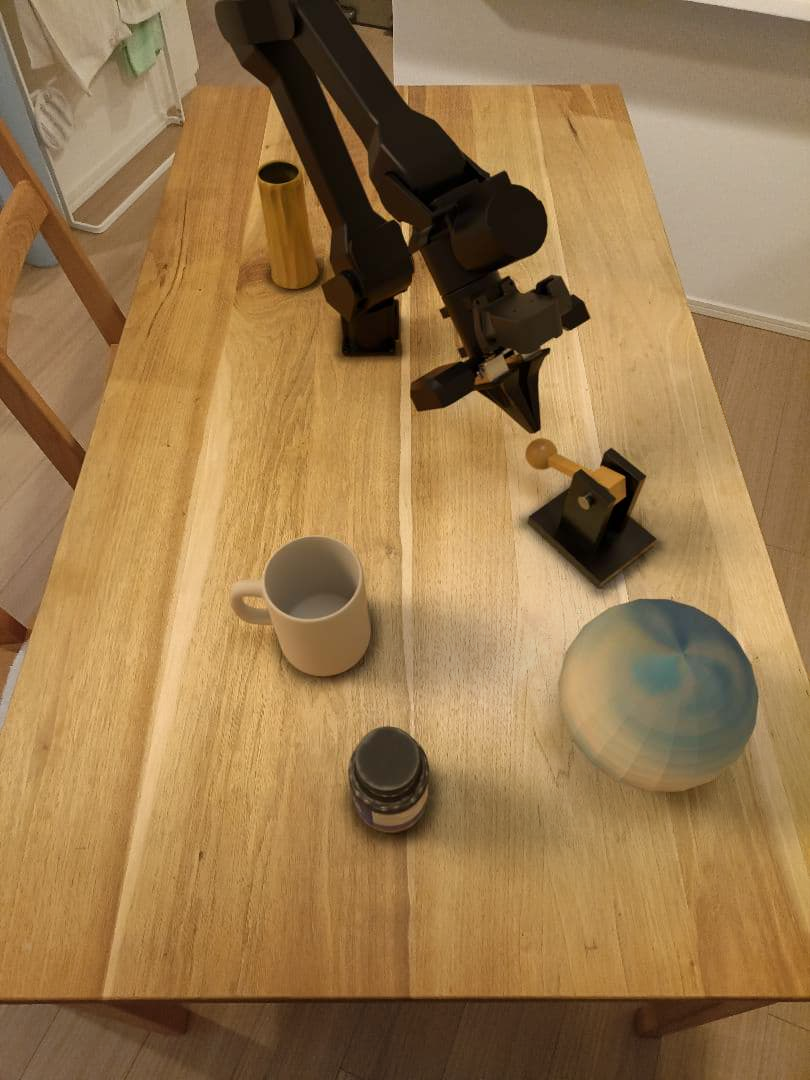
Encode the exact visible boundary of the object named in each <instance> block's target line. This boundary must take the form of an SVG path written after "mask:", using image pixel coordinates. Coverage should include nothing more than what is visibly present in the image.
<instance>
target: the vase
mask: <svg viewBox="0 0 810 1080" xmlns="http://www.w3.org/2000/svg"><path fill="white" fill-rule="evenodd" d="M255 175H256V181H257V185H258V190H259V197H260V203H261V210H262V215H263V221H264V228H265V235H266V241H267V242H266V243H267V250H268V256H269V257H268V258H269V264H270V269H271V279H272V281H273V283H274V284H275V285H277V286H279V287H280V288H283V289H287V290H299V289H303V288H306V287H309V286H310V285H312V284H313V283H314V282H315V281H316V279H317V278H318V276H319V268H318V264H317V259H316V254H315V247H314V243H313V238H312V234H311V228H310V222H309V215H308V207H307V201H306V200H307V199H306V192H305V184H304V177H303V175H304V174H303V171H302V169H301V166H300V165H299V164H298V163H296V162H295V161H292V160H289V159H282V158H278V159H272V160H269V161H266V162H264V163H263V164H261V165H260V166H258V168H257V170H256V174H255Z"/></svg>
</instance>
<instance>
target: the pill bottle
mask: <svg viewBox="0 0 810 1080" xmlns="http://www.w3.org/2000/svg"><path fill="white" fill-rule="evenodd" d="M429 764H430V763H429V760H428V757H427V754H426V752H425V750H424V749H423V747H422V746H421V745H420V744H419V742H418V741H417V740H416V739H415V738H413V737H412V735H411V734H409V733H408V732H407V731H406V730H403V729H401V728H399V727H396V726H390V725H387V726H385V725H384V726H379V727H377V728H374V729H372V730H370V731H369V732H368V733H366V734H365V735H364V736H363V737H362V738H361V740H360V741H359V742H358V745H357V746H356V747H355V748H354V750H353V752H352V754H351V756H350V758H349V762H348V769H347V773H348V782H349V783H348V784H349V786H350V790H351V793H352V798H353V802H354V804H355V808H356V809H355V810H356V812H357V814H358V815H359V816H360V818H361V819H362V820H363V821H364V823H366V824H367V826H368V827H369V828H371V829H372V830H375V831H377V832H380V833H383V834H398V833H399V834H400V833H403V832H405V831H407V830H409V829H411V828H412V827H413V826H414V825H415V824H416V823H417V822H418V821H419V820H420V819H421V818H422V817H423V815H424V813H425V810H426V807H427V803H428V797H429V785H430V765H429Z"/></svg>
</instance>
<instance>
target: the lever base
mask: <svg viewBox="0 0 810 1080" xmlns="http://www.w3.org/2000/svg"><path fill="white" fill-rule="evenodd" d="M601 466H604V467H607V468H609V469H611V470H613V471H615V472H617V473H619V474H621V475H623V476H625V481H626V497H625V498H623V499H622V500H621V501H619V502H618V503H617V504H615V501H616V498H615V497H614V496H613V495H612V494H611V493H609V492H608V491H607V490H606V489H605V488H603V487H602V486H601V485H600V484H599V483H598V482H596V481H595V480H594V479H593V478H592V477H590V476H589V475H588V474H587V473H586V472H585V471H583V470H582V469H580V470H578V471H577V472H575V473H574V474H573V478H571V482H570V485H569V486H568V488H566V489H565V490H564V491H562V492H560V493H559V494H558V495H557V496H555V497H554V498H552V499H550V501H548V502H547V503H546V504H544V505H543V506H541V507H540V508H539V509H537V510H536V511H534V512H532V513H531V514H530V515H528V517H527V524H528V525H529V526H530V527H531V528H532V529H533V530H534V531H535V532H536V533H537V534H539V536H541V537H542V538H543V540H545V541H546V542H547V543H548V544H549V545H550V546H551V547H553V548H554V549H555V550H556V551H557V552H558V553H559V554H560V555H561V556H562V557H563V558H564V559H566V561H568V562H569V563H570V564H571V565H572V566H573V567H574V568H575V569H576V570H577V571H579V572H580V573H581V574H582V576H584V577H585V578H586V579H587V580H588V581H589V582H590V583H591V584H592V585H593V586H595V587H596V589H600V588H601V587H603V586H604V585H606V584H607V583H608V582H609V581H611V580H612V579H613V578H614V577H615V576H617V575H618V574H619V573H620V572H622V571H623V570H624V569H625V568H627V567H628V566H630V565H631V564H632V563H633V562H634V561H636V560H637V559H639V558H640V557H641V556H642V555H643V554H645V553H646V552H647V551H648V550H650V549H651V548H652V547H654V545H655V543H656V541H657V538H656V536H654V535H653V534H652V533H651V532H649V531H648V530H647V529H646V528H644V527H643V526H642V525H641V524H640V523H639V522H637V521H636V520H635V519H634V518H633V517H632V516H631V515H632V513H633V511H634V508H635V506H636V503H637V501H638V498H639V497H640V493H641V491H642V488H643V487H644V485H645V481H646V480H647V477H648V476H647V475H646V474H645V473H644V472H642V470H640V469H639V468H637V466H635V465H634V464H633V463H632V462H630V461H629V460H628V459H627V458H625V457H624V456H623V455H621V453H619V452H618V451H617V450H615V449H614V448H613V447H609V448H608V449H607V450H605V451H604V452H603V455H602V458H601V461H600V464H599V467H601ZM614 504H615V505H614Z"/></svg>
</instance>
